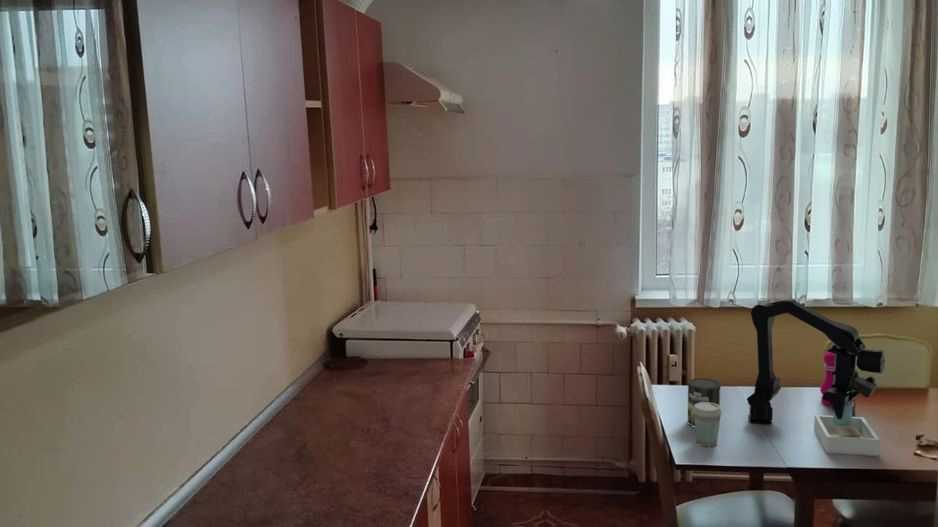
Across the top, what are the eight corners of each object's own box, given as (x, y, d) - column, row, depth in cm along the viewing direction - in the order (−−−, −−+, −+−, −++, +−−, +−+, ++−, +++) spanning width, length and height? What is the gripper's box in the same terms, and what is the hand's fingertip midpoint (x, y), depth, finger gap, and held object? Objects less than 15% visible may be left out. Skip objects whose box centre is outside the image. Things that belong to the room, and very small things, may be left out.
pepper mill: (843, 400, 258) (846, 345, 255) (841, 407, 252) (844, 350, 249) (821, 397, 262) (823, 343, 259) (818, 404, 256) (820, 348, 253)
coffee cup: (717, 451, 221) (718, 412, 219) (688, 445, 226) (689, 408, 224) (724, 440, 228) (724, 403, 226) (696, 436, 233) (696, 399, 231)
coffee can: (711, 432, 235) (712, 390, 233) (681, 425, 242) (682, 384, 240) (725, 422, 243) (726, 381, 240) (696, 416, 250) (696, 376, 247)
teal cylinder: (835, 426, 225) (836, 404, 224) (831, 420, 230) (832, 398, 229) (853, 427, 224) (854, 405, 223) (849, 421, 228) (850, 399, 227)
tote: (826, 453, 217) (827, 437, 216) (814, 429, 234) (814, 414, 233) (879, 456, 213) (879, 440, 212) (862, 432, 230) (863, 417, 230)
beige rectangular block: (841, 449, 217) (842, 433, 217) (837, 443, 222) (838, 427, 221) (859, 450, 216) (860, 434, 215) (855, 444, 221) (856, 428, 220)
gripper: (863, 380, 212) (861, 432, 214) (883, 365, 225) (880, 414, 227) (823, 373, 219) (821, 423, 222) (844, 358, 233) (842, 406, 235)
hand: (842, 416), depth 226 cm, fingers closed on teal cylinder, 5 cm apart
